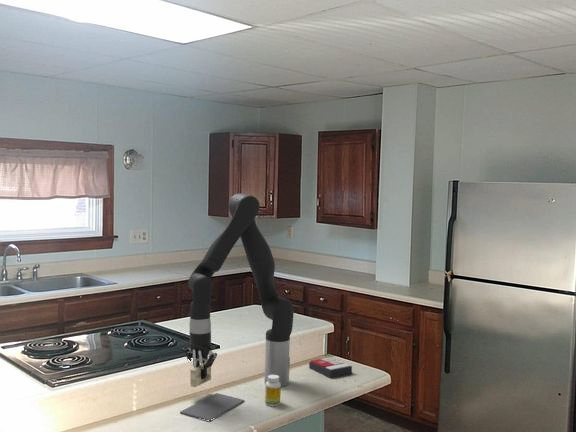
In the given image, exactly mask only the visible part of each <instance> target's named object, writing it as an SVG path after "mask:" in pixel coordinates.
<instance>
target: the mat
mask: <svg viewBox="0 0 576 432" xmlns="http://www.w3.org/2000/svg"><path fill="white" fill-rule="evenodd" d="M243 403H245V399H243V398H239V397H233V396H230V395H225V394H222V393H219V392H218V393H217V392H216V393H214V394H211V395H210V396H208V397H206V398H204V399H202V400H200V401H198V402H196V403H195V404H193V405H191V406H189V407H186V408H185V409H182V410H181V411H179V414H182V415H185V416H187V417H190V418H194V417H196V418H195V419H198V418H201V419H205V420H209V421H210V420H211V419H213V418H215V417H217V416H219V415H221V414H222V415H224V414H226V413H227V411H228V412H229V411H231V410H232V408H233V409H234V408H236V407H237V405H238V406H240V405H241V404H243ZM239 404H240V405H239ZM230 409H231V410H230ZM225 412H226V413H225ZM223 413H224V414H223ZM222 415H221V416H222ZM219 417H220V416H219ZM217 418H218V417H217ZM201 419H200V420H201ZM215 419H216V418H215ZM205 420H204V421H205ZM210 422H211V421H210Z"/></svg>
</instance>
